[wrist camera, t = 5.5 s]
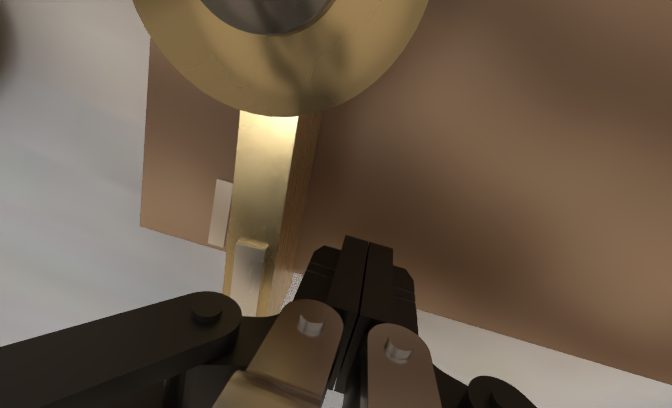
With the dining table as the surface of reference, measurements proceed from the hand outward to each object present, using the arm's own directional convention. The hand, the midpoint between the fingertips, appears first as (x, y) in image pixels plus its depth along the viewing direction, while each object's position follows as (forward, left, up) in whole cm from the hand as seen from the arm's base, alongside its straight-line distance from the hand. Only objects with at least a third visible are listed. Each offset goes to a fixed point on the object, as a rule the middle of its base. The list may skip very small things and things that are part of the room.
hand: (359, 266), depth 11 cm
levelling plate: (-7, +6, -3) cm, 10 cm away
